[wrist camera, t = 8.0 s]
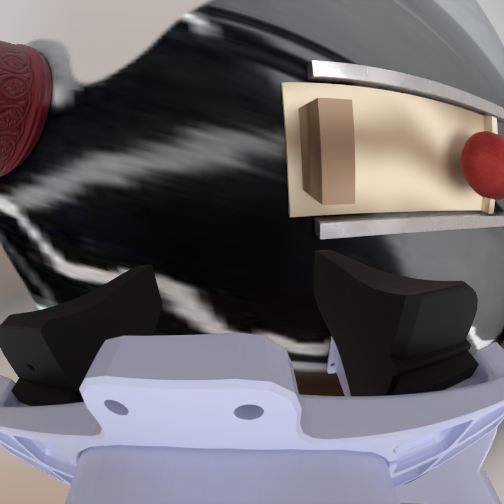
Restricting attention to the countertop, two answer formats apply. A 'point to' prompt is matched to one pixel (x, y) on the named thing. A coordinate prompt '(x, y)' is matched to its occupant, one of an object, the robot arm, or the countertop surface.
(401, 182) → the cream shallow tray
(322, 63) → the guide rails
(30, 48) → the canister
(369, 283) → the robot arm
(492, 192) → the onion
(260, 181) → the countertop surface
